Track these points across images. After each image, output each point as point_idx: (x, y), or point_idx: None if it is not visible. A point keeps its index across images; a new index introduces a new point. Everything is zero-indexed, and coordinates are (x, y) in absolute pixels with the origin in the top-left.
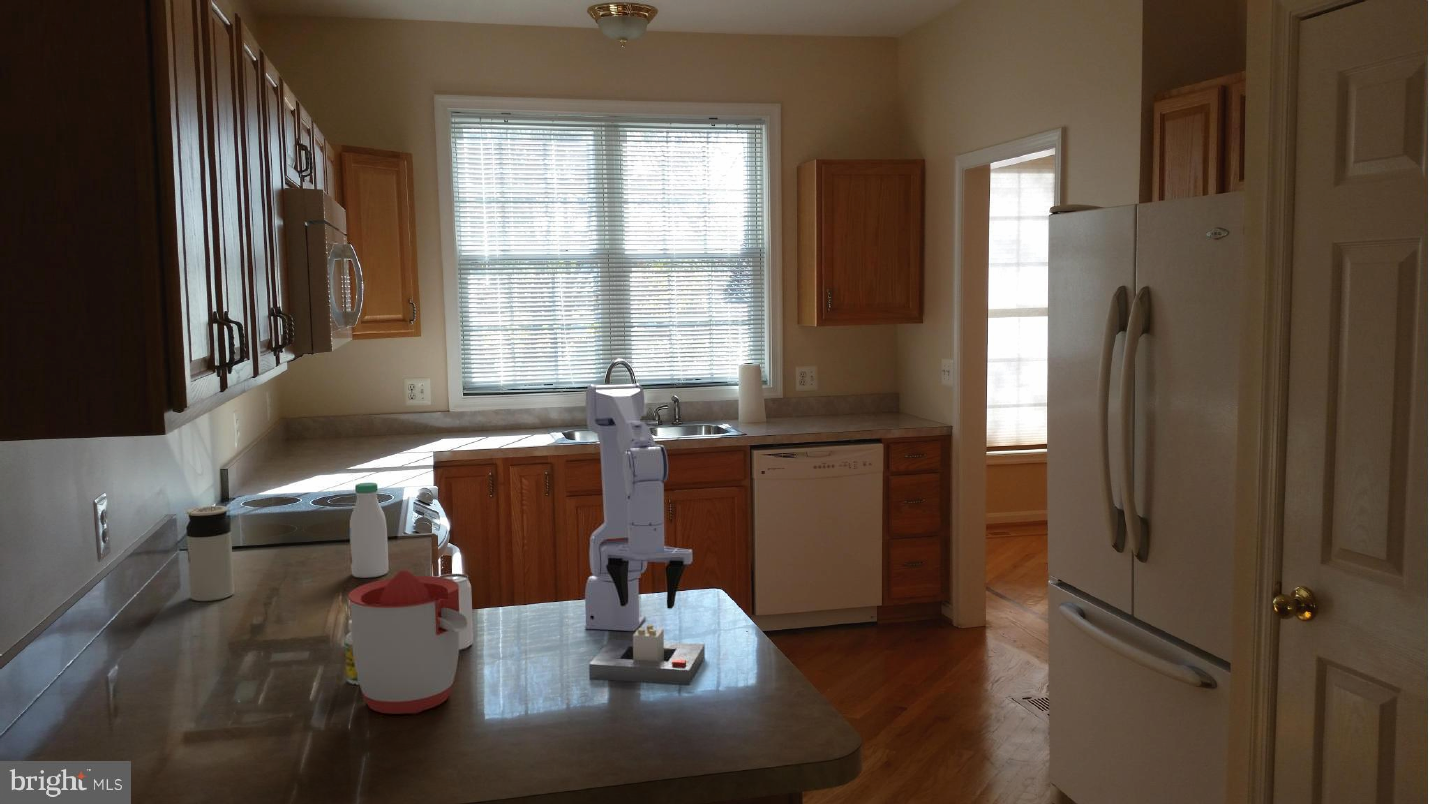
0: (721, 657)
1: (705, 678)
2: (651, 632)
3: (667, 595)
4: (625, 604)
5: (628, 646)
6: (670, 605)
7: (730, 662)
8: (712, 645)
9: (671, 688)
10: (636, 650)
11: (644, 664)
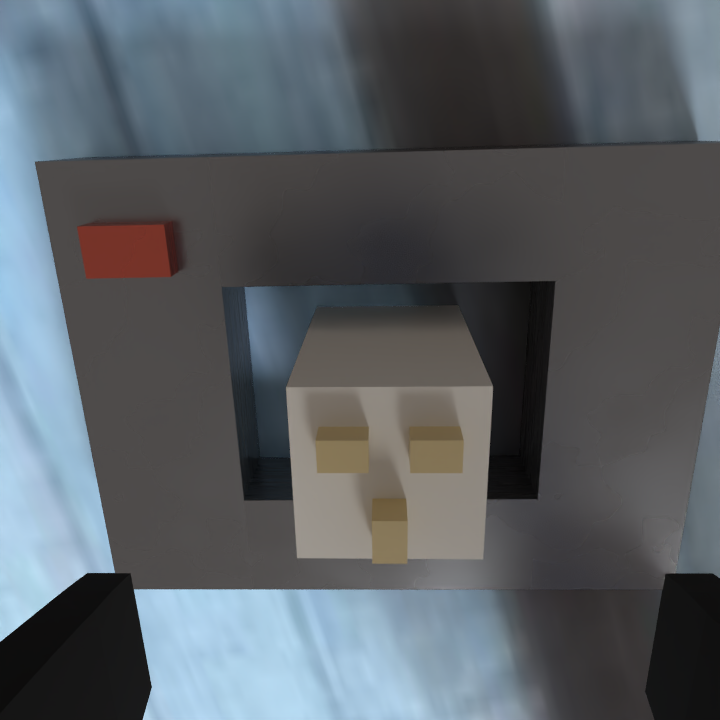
0: (75, 562)
1: (38, 280)
2: (346, 435)
3: (15, 686)
4: (665, 611)
5: (543, 496)
6: (66, 591)
7: (7, 510)
8: (172, 688)
9: (163, 88)
10: (451, 346)
11: (358, 210)
